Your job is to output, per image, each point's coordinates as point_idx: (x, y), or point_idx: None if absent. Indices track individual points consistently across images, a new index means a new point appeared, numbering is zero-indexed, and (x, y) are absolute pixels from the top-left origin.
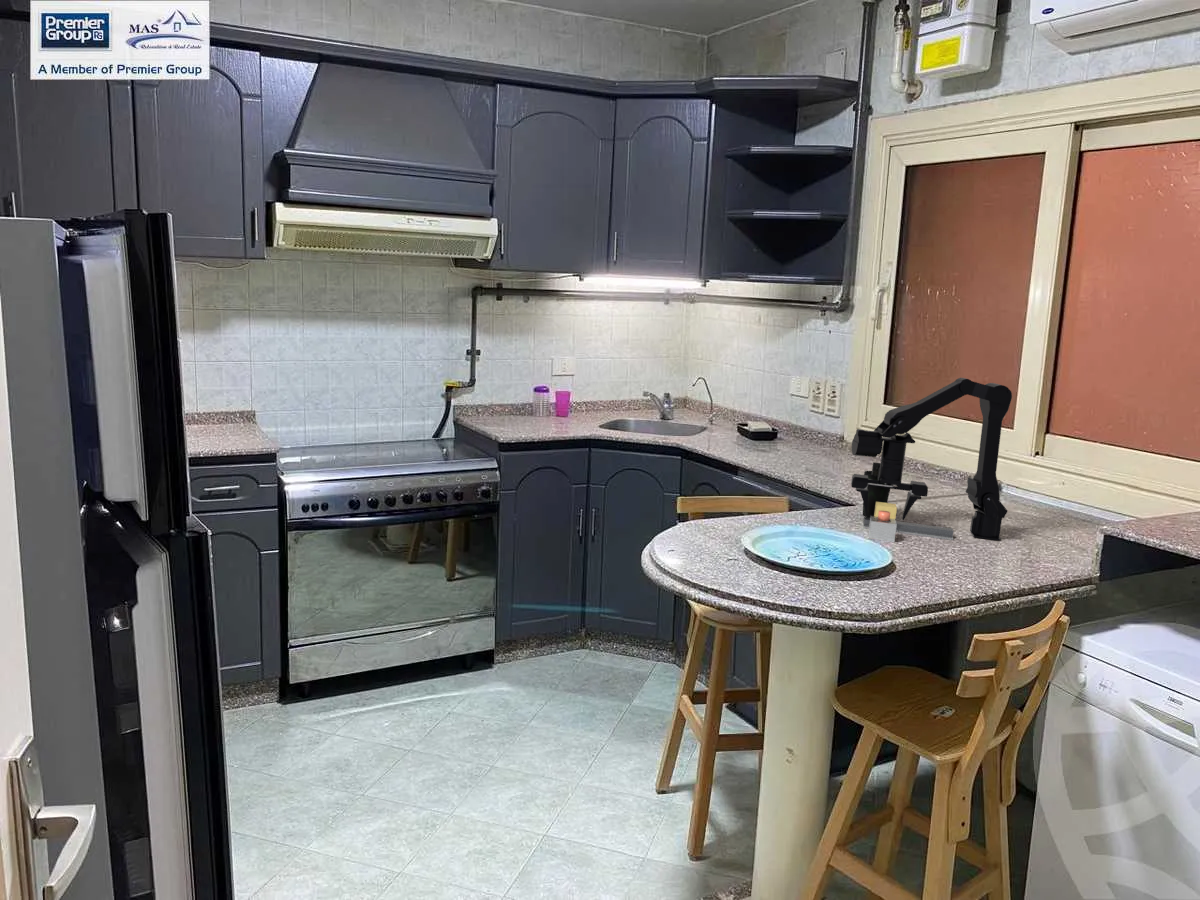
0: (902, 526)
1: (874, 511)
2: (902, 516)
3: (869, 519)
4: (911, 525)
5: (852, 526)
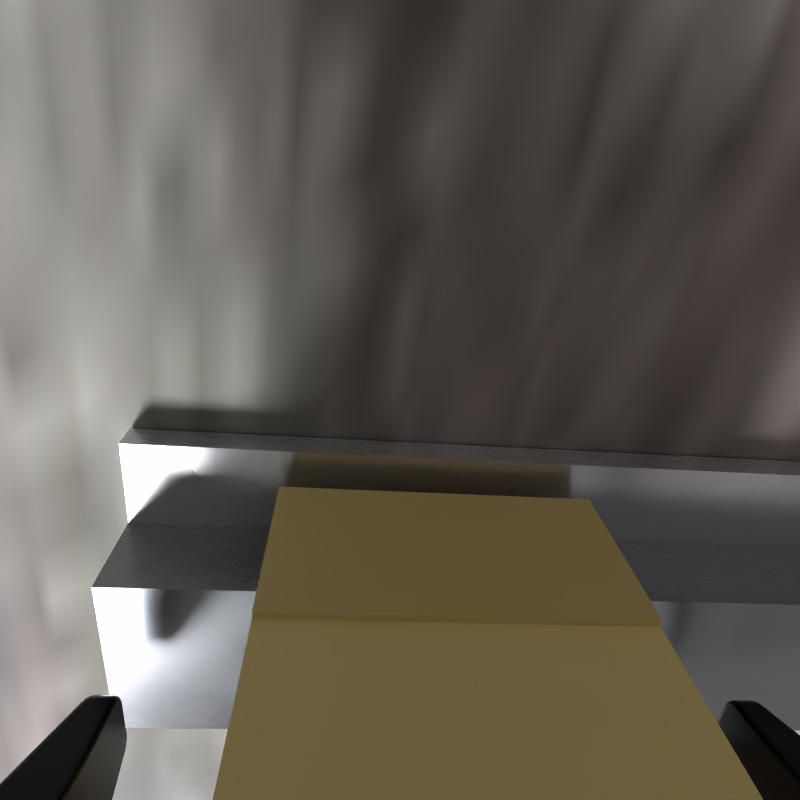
0: None
1: (250, 630)
2: (753, 756)
3: (194, 702)
4: (787, 724)
5: (14, 669)
